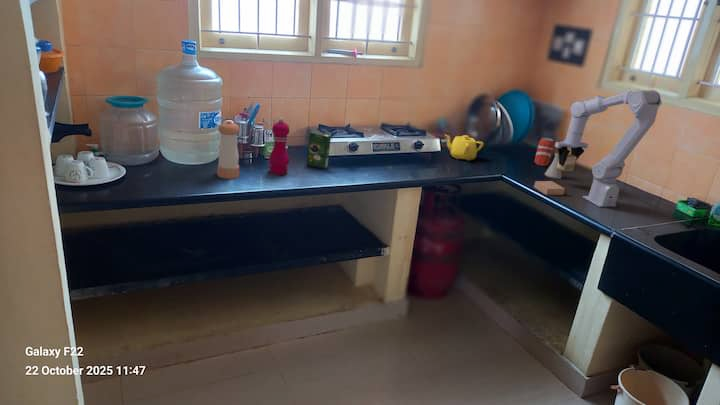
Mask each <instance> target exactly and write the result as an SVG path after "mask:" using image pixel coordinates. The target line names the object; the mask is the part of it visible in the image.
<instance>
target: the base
mask: <svg viewBox="0 0 720 405" xmlns="http://www.w3.org/2000/svg"><path fill="white" fill-rule="evenodd" d="M533 188H534V189H536V190H537V191H539V192H541V193H542V194H544V195H546V196H561V195H562V196H563V195H564V194H565V190H566V188H565V187H564V186H561V185H560V184H558V183H556V182H554V181H553V180H550V181H549V180H545V181H544V180H542V181H541V180H536V181H535V182H534V185H533Z"/></svg>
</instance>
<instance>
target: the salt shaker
mask: <svg viewBox="0 0 720 405" xmlns="http://www.w3.org/2000/svg"><path fill="white" fill-rule="evenodd" d="M217 130H218V132H219V133H220V145H219V146H220V147H219V151H218V163H217V172H216V173H217V177H219V178H221V179H225V180H226V179H227V180H230V179H236V178H238V177H240V165H239V149H238V134H239V133H240V131H241V129H240V126H239V125H238V124H236V123H234V122H232V121H231V120H228V121H225V122H223V123H220V124H219V126H218V129H217Z"/></svg>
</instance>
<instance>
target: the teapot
mask: <svg viewBox="0 0 720 405" xmlns="http://www.w3.org/2000/svg"><path fill="white" fill-rule="evenodd" d="M444 136H445V138H446V140H447V141H446V146H447V149H448V150H449V152H450V155H451V157H452V158H454V159H455V160H460V159H461V160H465V161H468V162H469V161H470V162H471V161H474V160H475V159H476V157H477V153H478V151H480V150H481V149H482V148H483V147H484V145H485V144H484V142H483V141H476V140H475V139H474V138H473V137H470V136H469V135H466V134H465V135H461V136H459V135H457V136H456V135H455V137H454V139H453V140H452V142H451V136H450V135H447V134H444ZM477 144H479V145H478V147H477Z"/></svg>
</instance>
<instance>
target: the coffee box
mask: <svg viewBox="0 0 720 405" xmlns="http://www.w3.org/2000/svg"><path fill="white" fill-rule="evenodd" d="M331 138H332V135H330V134H326V133H322V132H318V131H314V130H312V131H310V132H309V136H308V147H307V158H306V165H307V166H310V167H315V168H318V169H319V168H320V169H322V170H323V169H324V170H326V169H327V168H328V164H329V154H330V145H331Z"/></svg>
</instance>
